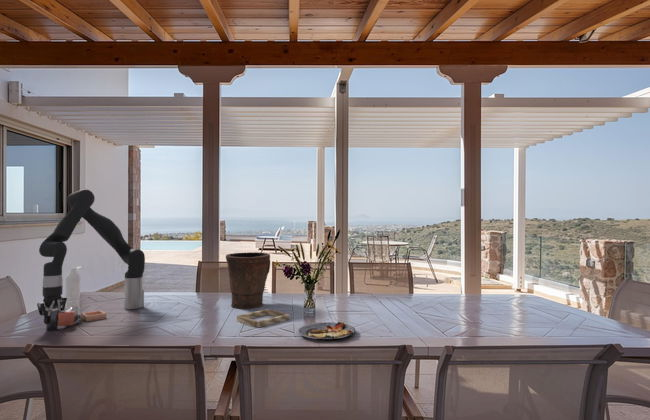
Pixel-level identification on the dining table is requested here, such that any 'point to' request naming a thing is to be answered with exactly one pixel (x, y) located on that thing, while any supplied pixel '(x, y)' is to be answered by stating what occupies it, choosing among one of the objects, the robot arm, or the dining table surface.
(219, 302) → the dining table surface
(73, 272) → the water bottle
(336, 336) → the food plate
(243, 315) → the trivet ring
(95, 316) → the tray
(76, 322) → the base
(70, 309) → the crank
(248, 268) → the clay pot
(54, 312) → the peg
